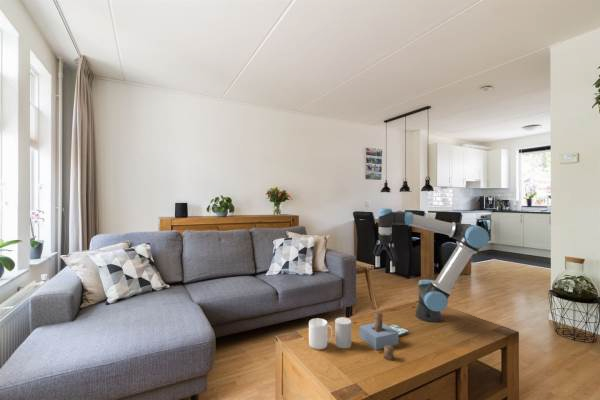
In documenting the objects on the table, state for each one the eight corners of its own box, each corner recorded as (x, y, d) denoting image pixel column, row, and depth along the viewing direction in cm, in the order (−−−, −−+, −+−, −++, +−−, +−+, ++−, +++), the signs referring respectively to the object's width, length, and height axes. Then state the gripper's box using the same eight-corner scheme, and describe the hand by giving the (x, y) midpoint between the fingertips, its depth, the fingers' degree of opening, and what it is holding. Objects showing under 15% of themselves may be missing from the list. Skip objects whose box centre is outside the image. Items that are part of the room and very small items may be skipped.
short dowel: (389, 354, 136) (389, 344, 136) (395, 359, 132) (395, 348, 132) (382, 356, 134) (382, 346, 134) (388, 361, 131) (388, 350, 131)
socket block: (380, 332, 159) (380, 321, 159) (398, 344, 146) (398, 332, 146) (359, 337, 153) (359, 325, 153) (376, 349, 140) (376, 337, 140)
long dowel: (379, 338, 152) (379, 311, 152) (384, 341, 148) (384, 314, 148) (372, 339, 151) (373, 313, 150) (377, 343, 147) (377, 316, 147)
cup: (341, 338, 152) (341, 316, 151) (354, 344, 146) (354, 320, 146) (331, 344, 146) (332, 320, 146) (344, 350, 140) (344, 325, 140)
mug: (305, 342, 147) (305, 320, 147) (326, 338, 152) (326, 316, 152) (313, 351, 139) (313, 327, 138) (335, 347, 143) (335, 323, 143)
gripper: (367, 232, 182) (367, 265, 182) (394, 237, 159) (394, 275, 159) (376, 231, 185) (376, 264, 185) (404, 236, 162) (404, 273, 162)
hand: (384, 269), depth 172 cm, fingers open, 13 cm apart
